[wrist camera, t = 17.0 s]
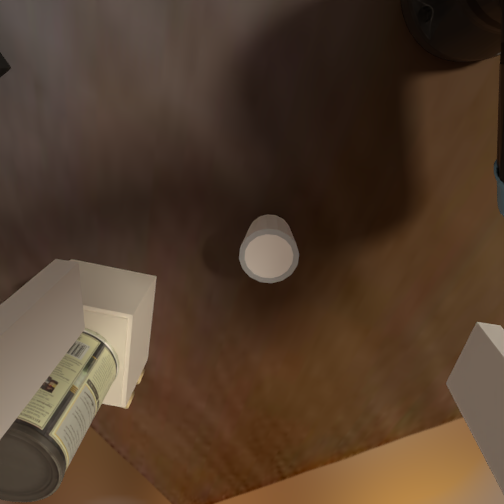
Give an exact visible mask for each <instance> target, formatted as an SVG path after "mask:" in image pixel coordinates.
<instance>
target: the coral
mask: <svg viewBox="0 0 504 504" xmlns="http://www.w3.org/2000/svg"><path fill="white" fill-rule="evenodd" d="M10 68H11V67H10V66H9V64H8V63H7V61H6V60H5V58H4V57H3V56H2V54H1V53H0V77H1V76H2V75H3V74H5V73H6V72H7V71H8V70H9V69H10Z"/></svg>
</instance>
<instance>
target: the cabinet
mask: <svg viewBox="0 0 504 504" xmlns="http://www.w3.org/2000/svg"><path fill="white" fill-rule="evenodd" d="M69 261H73V262H79V271H80V282H81V292H82V303H83V313H84V323H85V328H87V329H90V330H92V331H94V332H97V333H98V334H100V335H101V336H103V337H104V338H105V339H106V340H107V341H108V342H109V343H110V344H111V345H112V347H113V348H114V350H115V352H116V353H117V355H118V359H119V372H118V375H117V377H116V379H115V380H114V382H113V383H112V385H111V387H110V389H109V391H108V393H107V394H106V396H105V398H104V400H103V402H102V404H107V405H113V406H118V407H122V408H124V409H127V408H129V405H130V403H131V401H132V399H133V397H134V394H135V392H134V391H133V390H134V388H135V386H136V384H139V383H140V381H141V379H142V377H143V374H144V372H145V369H144V366H145V364H146V362H147V360H148V352H149V343H150V333H151V324H152V315H153V306H154V296H155V287H156V278H157V276H153V275H148V274H143V273H138V272H133V271H128V270H123V269H118V268H113V267H108V266H103V265H98V264H94V263H89V262H84V261H79V260H74V259H70V260H69Z"/></svg>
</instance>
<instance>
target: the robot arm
mask: <svg viewBox="0 0 504 504" xmlns="http://www.w3.org/2000/svg"><path fill="white" fill-rule="evenodd" d="M401 7H402V12H403V15H404V19H405V22H406V24H407V26H408V28H409V30H410V32H411V34H412V35H413V37H414V38H415V40H416V41H417V42H418V43H419V44H420V45H421V46H422V47H423V48H424V49H425V50H427V51H428V52H429V53H431V54H433V55H435V56H437V57H439V58H442V59H445V60H449V61H455V62H469V61H477V60H483V59H488V58H492V57H495V56H498V55H501V57H500V70H499V103H498V137H497V160H496V161H495V163H494V175H495V178H496V180H497V201H498V207H499V210H500V213H501V214H502V215H503V216H504V0H401ZM84 330H85V323H84V313H83V303H82V292H81V282H80V271H79V262H73V261H67V260H60V259H55V260H54V261H52V262H51V263H50V264H49V265H48V266H46V267H45V268H44V269H43V270H42V271H40V272H39V273H38V274H37V275H36V276H34V277H33V278H32V279H31V280H30V281H28V282H27V283H26V284H25V285H24V286H22V287H21V288H20V289H19V290H18V291H16V292H15V293H14V294H13V295H12V296H10V297H9V298H8V299H7V300H6V301H4V302H3V303H2V304H1V305H0V439H1V438H2V437H3V435H4V434H5V433H6V431H7V430H8V429H9V428H10V426H11V425H12V424H13V422H14V421H15V420H16V418H17V417H18V416H19V414H20V413H21V412H22V411H23V409H24V408H25V407H26V405H27V404H28V403H29V401H30V400H31V399H32V397H33V396H34V395H35V394H36V392H37V391H38V390H39V388H40V387H41V386H42V384H43V383H44V382H45V380H46V379H47V378H48V377H49V375H50V374H51V373H52V371H53V370H54V369H55V367H56V366H57V365H58V363H59V362H60V361H61V360H62V358H63V357H64V356H65V354H66V353H67V352H68V350H69V349H70V348H71V346H72V345H73V344H74V343H75V341H76V340H77V339H78V337H79V336H80V335H81V333H82V332H83V331H84ZM446 385H447V387H448V388H449V390H450V392H451V394H452V396H453V398H454V400H455V402H456V404H457V406H458V408H459V410H460V412H461V414H462V415H463V417H464V419H465V421H466V423H467V425H468V427H469V429H470V431H471V433H472V435H473V437H474V438H475V440H476V442H477V444H478V446H479V448H480V450H481V452H482V454H483V456H484V458H485V459H486V462H487V464H488V465H489V467H490V469H491V471H492V473H493V475H494V477H495V479H496V481H497V483H498V484H499V487H500V489H501V490H502V492H503V494H504V329H503V328H502V327H501V326H500V325H494V324H487V323H480V322H477V323H476V325H475V327H474V329H473V331H472V333H471V335H470V337H469V339H468V341H467V343H466V345H465V347H464V349H463V351H462V353H461V355H460V357H459V358H458V360H457V362H456V364H455V366H454V368H453V370H452V372H451V374H450V376H449V378H448V380H447V382H446Z"/></svg>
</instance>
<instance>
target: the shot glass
mask: <svg viewBox="0 0 504 504" xmlns="http://www.w3.org/2000/svg"><path fill="white" fill-rule="evenodd" d="M298 259H299V252H298V248H297V245H296V242H295V240H294V237H293V235H292V232H291V230H290V227H289V225H288V224H287V223H286V221H285V220H284V219H282V218H281V217H279V216H277V215H270V214H267V215H263V216H260V217H258V218H257V219H256V220H254V221H253V222H252V224H251V226H250V227H249V229H248V232H247V234H246V236H245V238H244V240H243V243H242V245H241V247H240V253H239V260H240V263H241V266H242V269H243V270H244V271H245V272H246V273H247V274H248V276H249V277H251V278H253V279H255V280H257V281H259V282H264V283H275V282H279V281H283V280H284V279H285V278H287V277H288V276H290V275H291V274H292V273H293V271H294V270H295V268H296V267H297V265H298Z"/></svg>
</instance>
